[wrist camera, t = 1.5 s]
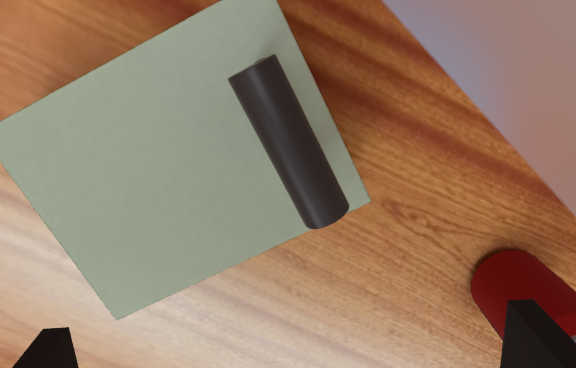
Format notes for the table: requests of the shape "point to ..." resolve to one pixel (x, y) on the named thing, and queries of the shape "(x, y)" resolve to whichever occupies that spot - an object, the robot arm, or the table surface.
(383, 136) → the table surface
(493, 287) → the beverage can
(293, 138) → the lid
